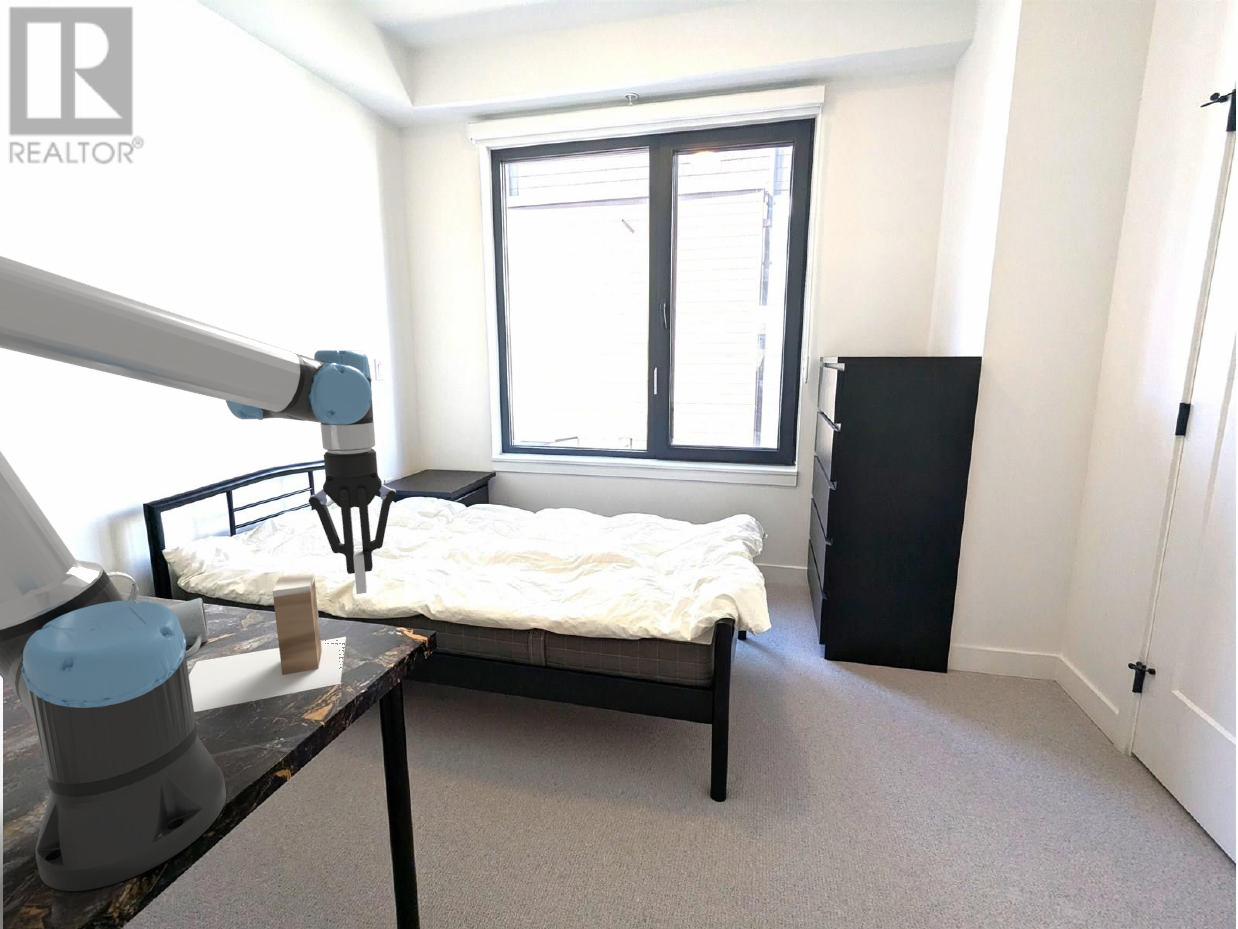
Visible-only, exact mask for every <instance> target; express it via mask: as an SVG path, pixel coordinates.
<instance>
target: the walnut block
mask: <svg viewBox="0 0 1238 929" xmlns="http://www.w3.org/2000/svg"><path fill="white" fill-rule="evenodd" d="M315 580H316V579H315V572H310V573H309V572H308V573H300V574H292V575H286V576H285V575H284V576H279V577H278V579H277V580H276V583H275V585H274V587H273V589H272V596H273V603H274V604H273V605H274V614H275V615H274V616H275V623H276V624H275V625H276V632H277V640H278V648H279V650H280V659H281V667H282V675H287V674H292V673H298V672H303V671H309V670H314V669H318V668H319V663H320V658H321V653H322V647H321V641H322V639H321V638H322V637H321V629H320V628H321V627H320V620H319V610H318V598H317V588H316V581H315Z"/></svg>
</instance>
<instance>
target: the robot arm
mask: <svg viewBox="0 0 1238 929" xmlns="http://www.w3.org/2000/svg"><path fill="white" fill-rule="evenodd" d="M0 348H1V349H3V350H4V349H5V350H9V351H13V352H18V353H22V354H26V355H30V356H35V357H40V358H43V359H47V360H51V361H57V362H61V363H65V364H69V365H72V366H77V367H81V368H86V369H87V368H88V369H90V370H94V371H95V370H96V371H99V372H104V373H108V374H112V375H116V376H121V377H125V378H129V379H134V380H136V381H142V382H147V383H150V384H154V385H155V384H156V385H160V386H163V387H167V388H168V387H169V388H172V389H177V390H181V391H185V392H189V393H194V394H197V395H202V396H206V397H210V398H214V399H215V398H216V399H219V400H224V401H225V402H226V406H227V408H228V409H229V411H230V413H231V414H232V415H233V416H235V417H236V418H237V419H240V420H259V421H263V419H284V420H285V419H286V420H292V421H293V420H294V421H295V420H296V421H300V422H301V421H305V422H312V423H318V424H320V432H321V440H322V448H323V449H324V450H325V451H326V452H325V453H324V454H323V464H324V474H325V481H324V483H323V485H322V489H321V490H319V491H318V492H316V493H312V494H311V495H310V497H309V499H308V503H309V505H310V506H311V507H312V508H313V509H314V510H315V511H316V512H317V515H318V517H319V520H320V523H321V525H322V528H323V530H324V532H325V535H326V538H327V540H328V544H329V546H330V549H331V551H332V553H333V554H342V555H344V557H345V565H346V572H347V574H348V575H353V574H354V579H355V580H354V582H355V590H356V595H359V594H360V595H361V594H362V595H363V594H367V593H368V592H367V589H368V585H367V572H372V571H373V570H372V569H373V566H374V565H373V554H372V553H373V552H374V551H375V550H379V549H381V548H383V546H384V545H383V544H384V540H385V539H384V538H385V534H386V528H387V523H388V519H389V518H388V517H389V514H390V507H391V504H392V503H393V502H394V500H395V498H396V496H397V491H396V489H395V488H393V487H388V486H387V485H384V484H383V483H382V482H383V481H382V480H381V478H380V476H379V475H378V474H379V473H378V462H377V461H378V460H377V459H378V458H377V451H375V449H373V448H374V447H375V446H376V436H375V422H374V409H373V391H372V377H371V370H370V369H371V368H370V364H369V358H368V356H367V354H366V353H365V352H363V351H361V350H341V349H340V350H338V349H337V350H336V349H335V350H333V349H332V350H331V349H330V350H329V349H328V350H326V349H325V350H324V349H323V350H317V351H315V353H314V358H311V357H308V356H305V355H301V354H298V353H294V352H292V351H289V350H286V349H283V348H281V347H278V346H275V345H272V344H269V343H266V342H262V341H260V340H258V339H257V340H256V339H254V338H250V337H248V336H245V335H242V334H238V333H236V332H233V331H230V330H226V329H223V328H221V327H217V326H214V325H211V324H208V323H205V322H203V321H202V322H201V321H199V320H195V319H193V318H189V317H186V316H184V315H181V314H178V313H174V312H172V311H169V310H165V309H163V308H159V307H156V306H153V305H150V304H147V303H145V302H141V301H138V300H135V299H132V298H128V297H126V296H123V295H119V294H117V293H114V292H111V291H108V290H104V289H102V288H99V287H95V286H92V285H89V284H86V283H83V282H81V281H77V280H75V279H72V278H69V277H66V276H63V275H60V274H56V273H53V272H50V271H49V270H48V271H47V270H44V269H41V268H38V267H35V266H32V265H29V264H26V263H22V262H21V261H17V260H13V259H11V258H9V257H5V256H2V255H0ZM379 492H380V495H379V497H380V499H381V500H382V501H381V505H380V510H379V517H378V522H377V528H376V532H375V539H373V540H372V538H371V529H370V517H369V506H370V504H371V503H372V502H373V500H374V499H375V497H376V495H377V494H378V493H379ZM327 496H328V497H329V498H330V500H331V501H332V502H334V504H335V505H337V507H340V512H341V513H340V514H341V521H342V533H343V534H342V536H343V543H342V542H341V540H340V537H339V534H338V532H337V528H336V526H335V523H334V521H333V518H332V517H331V513H330V511H329V507H328V506H327V503H328V498H327ZM353 508H358V512H359V520H360V521H359V524H360V531H361V532H360V533H361V534H360V535H361V544H362V545H361V546H362V549H360V550H359V549H358V550H355V544H354V532H353V521H352V520H353V519H352V518H353V517H352V509H353ZM106 573H107V572H106V571H105V570H104V568H103V567H102V565H101V564H99V563H97V562H91V561H85V560H79V559H76V558H75V557H74V555H73V554H72V552H71V551H70V550H69V548H68V547H67V545H66V544H65V542H64V541H63V539H62V538H61V535H59V534H58V532H57V531H56V530H55V527H54V526H53V525H52V523H51V522H50V520H49V519H48V518H47V516H46V515H45V513H44V512H43V510H42V509H41V508H40V506H39V505H38V503H37V502H36V500H35V499H34V498H33V496H32V494H31V493H30V491H28V488H26V486H25V484H24V483H23V481H22V480H21V479H20V477H19V476H18V475H17V472H16V471H15V470H14V468H13V467H12V465H11V464H10V463H9V462H8V460H7V459H6V457H5V455H4V454H3V453H2V451H1V450H0V677H1V678H2V679H3V680H4V681H5V682H6V683H7V684H8V685H9V687H10V688H11V689H12V691H13V692H14V694H16V696H17V697H18V699H19V701H20V702H21V704H23V706H24V708H25V709H26V710H27V711H28V713H29V715H30V716H31V718H32V719H33V723H34V726H35V728H36V732H37V736H38V740H39V746H40V751H41V754H42V755H41V756H42V761H43V764H44V770H45V775H46V779H47V783H48V784H47V785H48V788H49V794H48V797H47V798H48V799H47V802H46V805H45V809H44V810H45V811H44V814H43V818H42V821H41V825H40V830H39V833H38V837H37V841H36V845H35V859H36V860H35V861H36V864H37V869H38V874H39V878H40V879H41V881H42V883H44V884H45V885H46V886H48V887H50V888H52V889H55V890H59V891H65V892H66V891H67V892H79V891H88V890H95V889H96V890H97V889H99V888H104V887H109V886H111V885H115V884H118V883H121V882H123V881H127V880H129V879H132V878H134V877H136V876H139V875H141V874H144V873H145V872H147V871H150V870H151V869H154V868H156V867H157V866H159V865H161V864H163V863H165V862H167V861H168V860H170V859H172V858H173V857H174V856H176V855H178V854H179V853H181V852H182V851H183V850H185V849H187V848H188V847H189V846H191V845H192V844H193V843H194V842H195V841H196V840H197V839H199V838H200V837H201V836H202V835H203V834H204V833H205V832H206V831H207V830H208V829H209V828H210V827H211V826H212V825H213V823H214V822H215V821H216V819H217V818H218V817H219V815H221V812H222V810H223V809H224V805H225V803H226V800H227V791H226V783H225V776H224V773H223V771H222V769H221V767H220V766H219V765H218V763H217V762H216V761H215V760H216V759H214V758H213V756H212V755H211V753H210V751H208V750H209V749H207V748H206V746H205V745H204V743H203V742H202V741H201V739H200V738H199V736H198V729H197V723H196V717H195V712H194V708H193V701H192V694H191V687H190V680H189V674H190V673H189V667H188V662H187V661H188V660H187V658H186V653H185V652H186V651H187V649H186V648H187V646H186V639H185V637H184V636H185V635H184V633H183V630H182V629H181V626H180V622H179V619H178V617H177V616H176V614H175V613H174V612H173V611H172V610H171V609H169V608H168V606H166V605H163V604H161V603H158V602H154V601H148V600H142V601H139V602H136V600H135V601H133V600H129V601H127V600H125V599H124V598H123V596H122V594H121V593H120V591H119V590H118V588H117V587H116V585H115V584H114V583H113V581H112V579H111V577H108V575H107V574H106Z"/></svg>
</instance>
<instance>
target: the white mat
mask: <svg viewBox="0 0 1238 929" xmlns="http://www.w3.org/2000/svg"><path fill="white" fill-rule="evenodd" d="M325 640H326V641H325ZM325 640H321V647H322V653H321V658H320V663H319V668H318V669H314V670H309V671H303V672H298V673H292V674H287V675H282V667H281V659H280V650H279V647H276V648H269V649H264V650H257V651H252V652H246V653H240V654H233V655H228V656H223V657H222V656H221V657H216V658H210V659H209V658H208V659H204V660H197V661H196V662H195V664H194V665H193V667H192V669H191V671H190V673H188V674H189V680H190V687H191V694H192V701H193V708H194V713H198V712H203V711H208V710H214V709H218V708H219V709H220V708H224V707H229V706H235V705H238V704H246V703H249V702H254V701H261V700H264V699H270V698H275V697H280V696H285V695H291V694H294V693H295V694H296V693H301V692H307V691H310V690H316V689H322V688H326V687H332V686H336V685H341V684H342V683H341V681H342V673H343V665H344V658H343V659H342V658H340V659H339V657H344V656H345V648H346V640H347V636H342V637H335V638H331V639H330V638H329V639H325ZM336 640H338V641H336ZM325 643H326V644H325ZM327 643H329V644H327ZM331 643H334V644H331ZM335 643H338V645H337V644H335ZM339 643H341V644H339ZM342 643H345V645H344V644H343V645H342ZM342 647H345V648H344V649H343V648H342ZM339 650H340V651H339ZM342 650H344V652H343V651H342ZM339 654H341V655H339ZM343 654H344V655H343ZM339 661H340V662H339ZM342 661H343V662H342ZM340 664H341V665H340ZM342 664H343V665H342ZM340 667H342V668H340ZM339 668H340V669H339Z"/></svg>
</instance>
